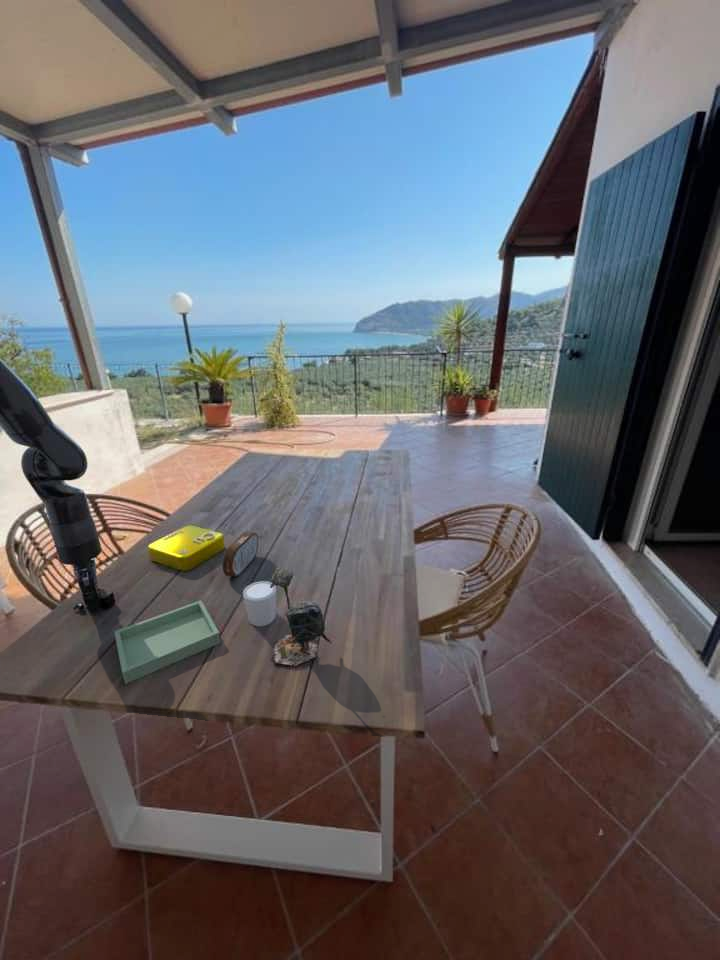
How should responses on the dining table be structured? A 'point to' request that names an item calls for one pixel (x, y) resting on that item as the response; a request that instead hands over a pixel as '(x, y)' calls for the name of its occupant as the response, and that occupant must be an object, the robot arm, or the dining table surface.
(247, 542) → the brown digital clock
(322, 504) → the dining table surface
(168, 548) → the element tile
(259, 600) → the white cylinder
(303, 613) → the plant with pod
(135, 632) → the pale tray
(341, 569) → the dining table surface
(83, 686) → the dining table surface
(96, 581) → the robot arm
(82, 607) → the wireless earbuds
